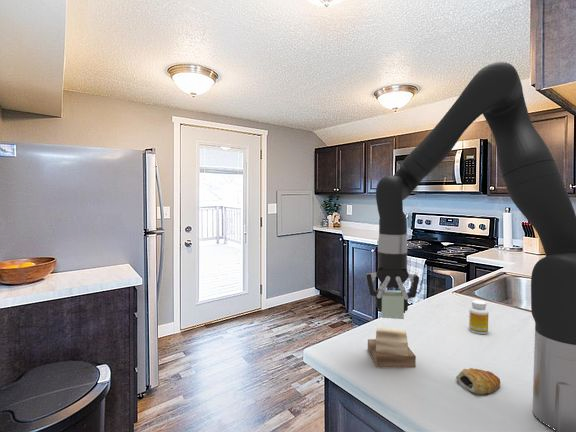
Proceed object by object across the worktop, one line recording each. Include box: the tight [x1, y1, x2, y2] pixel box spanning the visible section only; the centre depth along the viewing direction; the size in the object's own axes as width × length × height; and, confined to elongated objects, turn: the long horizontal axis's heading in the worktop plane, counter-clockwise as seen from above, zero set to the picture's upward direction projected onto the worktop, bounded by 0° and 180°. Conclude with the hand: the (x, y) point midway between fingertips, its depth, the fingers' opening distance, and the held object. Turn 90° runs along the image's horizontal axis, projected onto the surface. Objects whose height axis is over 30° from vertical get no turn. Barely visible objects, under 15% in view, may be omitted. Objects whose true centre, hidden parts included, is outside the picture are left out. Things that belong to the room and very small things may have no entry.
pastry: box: [455, 367, 501, 395], centre depth 76 cm, size 9×7×4 cm
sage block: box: [380, 289, 405, 320], centre depth 88 cm, size 6×6×6 cm
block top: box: [375, 327, 409, 356], centre depth 89 cm, size 8×8×4 cm
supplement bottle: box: [468, 299, 489, 335], centre depth 105 cm, size 5×5×10 cm
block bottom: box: [367, 338, 417, 368], centre depth 89 cm, size 10×10×4 cm
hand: (391, 311), depth 88 cm, fingers closed on sage block, 5 cm apart
